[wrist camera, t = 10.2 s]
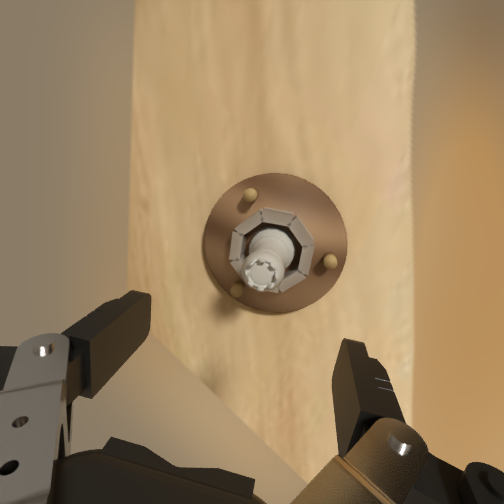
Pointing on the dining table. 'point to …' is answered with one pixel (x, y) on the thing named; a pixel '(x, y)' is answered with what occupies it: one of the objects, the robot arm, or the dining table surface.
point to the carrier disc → (289, 218)
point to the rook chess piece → (268, 258)
